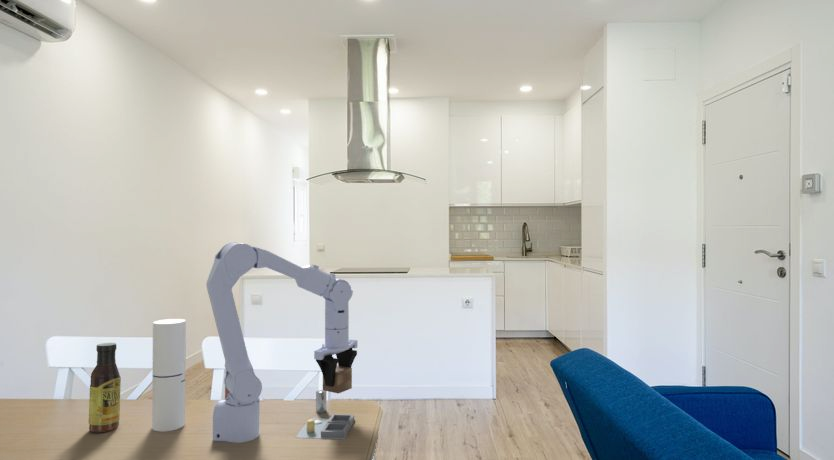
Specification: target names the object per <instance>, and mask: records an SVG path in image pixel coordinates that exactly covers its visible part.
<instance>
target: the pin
mask: <svg viewBox="0 0 834 460" xmlns="http://www.w3.org/2000/svg"><path fill="white" fill-rule="evenodd" d="M315 412H316V413H317V414H325V413H326V412H327V391H324V390H323V389H319V390H316V391H315Z"/></svg>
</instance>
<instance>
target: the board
mask: <svg viewBox="0 0 834 460" xmlns="http://www.w3.org/2000/svg"><path fill="white" fill-rule="evenodd" d="M354 421H355V414H349V413H348V414H347V413H346V414H345V413H332V414H331V416H330V417H328V418H321V417H319V418H318V417H317V418H316V417H309V419H307V420H306V423H305V424H304V425H303V427H302V428H301V429H300V431H299V432H298V433H297V435H296V436H295V439H319V440H323V439H324V440H345V439H346V437H347V435H348V434H349V431H350V429H351V427H352V426H353V424H354Z"/></svg>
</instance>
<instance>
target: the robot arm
mask: <svg viewBox="0 0 834 460" xmlns="http://www.w3.org/2000/svg"><path fill="white" fill-rule="evenodd" d="M262 268H267V269H269V270H272V271H274V272H277V273H280V274H282V275H284V276H287V277H289V278H291V279H294V280H295V283H296V285H297V287H298V288H300V289H303V290H305V291H307V292H310V293H312V294H315V295H317V296H319V297H322V298H323V299H324V300H325V301H324V316H325V317H324V343H322V345H321V347H320V348H319V349H316V350H314V351H313V352H314V353H313V354H314V355H313V356H314V357H313V358H314V360H315V362H316V363H317V365H318V366H319V368H320V372H321V373H322V378H323V377H324V381H325V385H326V386H330V387H333V386H334V382H335V371H336V366H337V365H338V366H343V367H349V368H352V366H353V363H354V360H355V359H356V357H357V355H358V350H354V349H357V348H358V340H357V339H349V333H350V331H349V323H350V322H349V319H350V318H349V316H350V315H349V310H350V309H349V302H350V301H351V298H352V296H353V293H354V291H353V290H352V287H351V285H350V284H349V283H350V282H348V281H346V280H345V279H341V278H338V277H336V274H335V273H332V272H331V273H328V272H326V271H324V270H321V269H320V266H319V265H316V264H312V265H311V264H305V265H303V266H299V265H298V264H295V263H293V262H291V261H290V260H287V259H285V258H284V257H281V256H280V255H277V254H275V253H273V252H271V251H270V250H266V249H263V248H261V247H256V246H252V245H250V244H247V243H243V242H241V243H238V242H229V243H226V244H225V245H223V247H221V248H220V249H219V251H218V252H217V253H216V254H215V255H214V260H213V263H212V266H211V270H210V271H209V274H208V278H207V281H206V291H207V294H208V299H209V303H210V306H211V310H212V314H213V316H214V322H215V325H216V329H217V334H218V338H219V341H220V345H221V349H222V353H223V358H224V362H225V363H224V368H225V376H224V378H225V380H224V381H223V384H224V388H225V387H226V388H227V390H228V391H230V392H229V393H228V395H227V398H226V400H225V399H219V400H218V401H216V404H215V406H214V408H213V413H212V441H213V442H214V441H216V442H217V441H218V442H229V443H237V444H238V443H246V442H250V441H253V440H255V439H257V438H259V436H260V407H261V406H260V403H261V402H260V396H261V393H262V390H263V383H262V381H261V380H260V378H259V377H258V375H256V373H255V372H254V371H255V370H254V368H253V364H252V362H251V360H250V358H249V354H248V350H247V347H246V343H245V339H244V338H245V337H244V335H243V330H242V327H241V323H240V318H239V314H238V310H237V307H236V302H235V298H234V293H233V288H234V286H235V285H236V283H237V282H238V281H239V279H240V278H241V277H242V276H244V275H245V274H246V273H248V272H249V271H251V270H252V269H262ZM333 355H335V356H336V357H335V358H334V356H333Z"/></svg>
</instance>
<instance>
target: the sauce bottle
mask: <svg viewBox="0 0 834 460" xmlns="http://www.w3.org/2000/svg"><path fill="white" fill-rule="evenodd" d="M116 350H117V343H116V342H105V343H104V342H103V343H98V344H97V345H96V352H97V353H96V356H97V357H96V358H97V359H96V365H95V367H94V368H93V370H92V371H91V373H90V385H89V399H88V400H89V401H88V403H89V406H88V424H89V427H88V429H89V432H91V433H97V434H98V433H104V432H110V431H112V430H115V429H116V428H118V426H119V425H120V418H121V417H120V414H121V385H122V384H121V379H122V378H121V375H120V372H119V368H118V365H117V361H116Z"/></svg>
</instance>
